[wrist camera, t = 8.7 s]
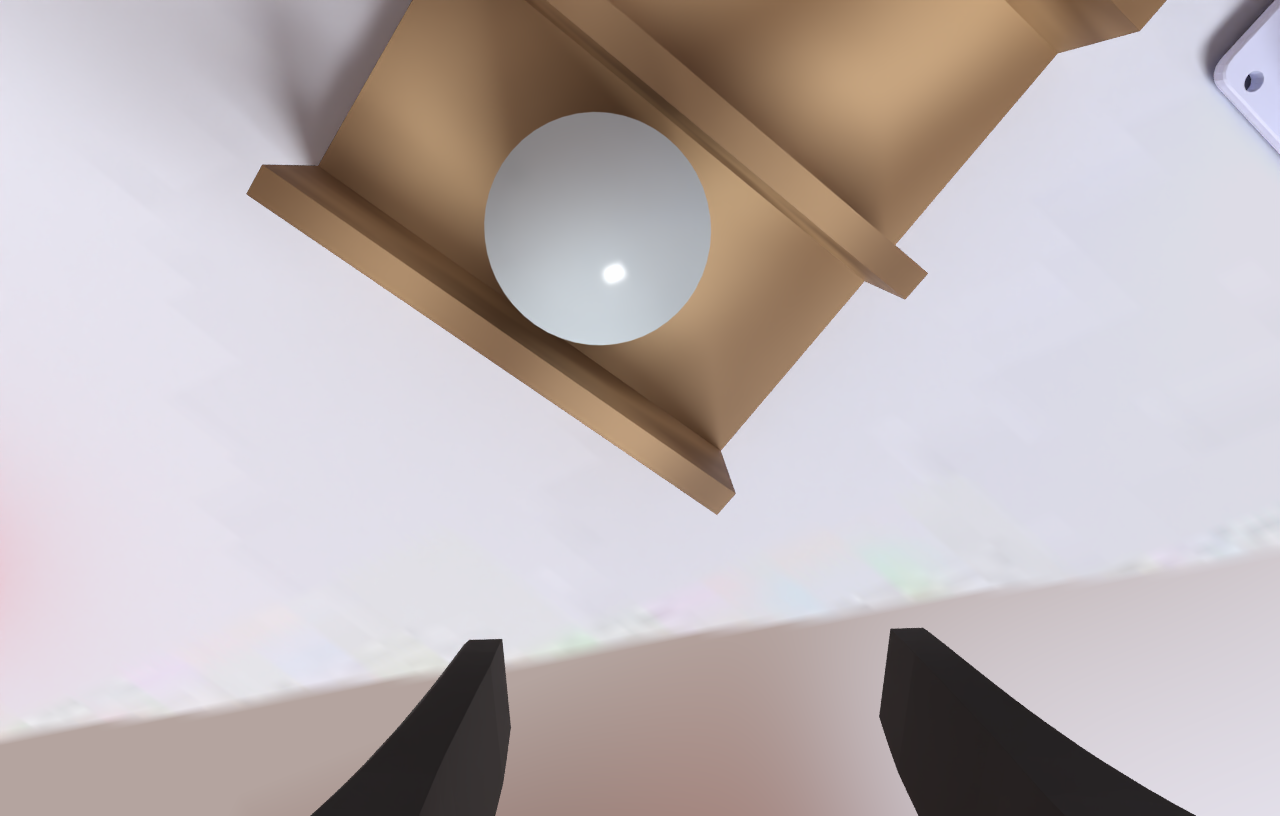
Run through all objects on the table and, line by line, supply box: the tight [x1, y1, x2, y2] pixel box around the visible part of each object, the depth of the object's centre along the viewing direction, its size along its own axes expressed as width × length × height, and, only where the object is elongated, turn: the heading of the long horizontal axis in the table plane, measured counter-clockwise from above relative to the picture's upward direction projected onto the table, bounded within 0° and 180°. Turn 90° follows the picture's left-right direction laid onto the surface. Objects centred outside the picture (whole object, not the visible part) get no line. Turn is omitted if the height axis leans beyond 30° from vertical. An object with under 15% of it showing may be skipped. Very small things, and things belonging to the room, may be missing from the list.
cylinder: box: [484, 112, 711, 345], centre depth 16 cm, size 4×4×6 cm
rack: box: [247, 0, 1166, 514], centre depth 17 cm, size 14×16×4 cm
